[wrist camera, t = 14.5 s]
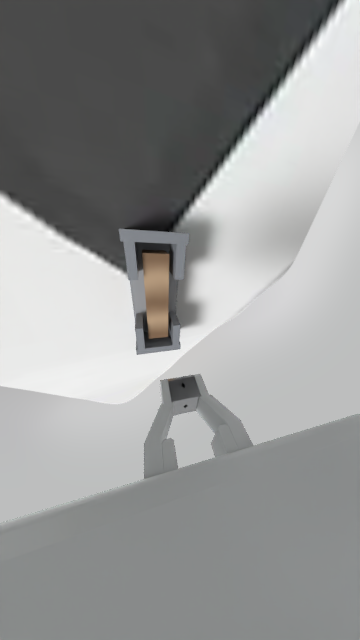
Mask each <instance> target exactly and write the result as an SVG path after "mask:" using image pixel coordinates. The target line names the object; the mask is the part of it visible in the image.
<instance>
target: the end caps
mask: <svg viewBox="0 0 360 640" xmlns="http://www.w3.org/2000/svg"><path fill="white" fill-rule="evenodd" d="M119 234H120V241H123V242H124V249H125V257H126V264H127V272H128V279H129V280H130V285H131V293H132V301H133V308H134V316H135V331H136V352H137V355H138V354H146V353H154V352H161V351H169V350H177V349H180V342H179V337H180V323H179V321H178V319H177V316H176V298H177V280H184V267H185V253H186V245H188V243H189V233H175V232H160V231H146V230H131V229H119ZM142 250H165V251H166V252H167V253H169V304H168V337H161V338H151V339H149V336H148V324H147V311H146V299H145V286H144V273H143V260H142Z"/></svg>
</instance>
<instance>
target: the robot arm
mask: <svg viewBox="0 0 360 640" xmlns="http://www.w3.org/2000/svg"><path fill="white" fill-rule="evenodd" d="M160 391H161V402H162V404H161V406H160V408H159V410H158V413H157V415H156V417H155V420H154V422H153V424H152V427H151V429H150V431H149V434H148V436H147V438H146V441H145V443H144V479H143V480H140V481H137V482H134V483H130V484H127V485H123V486H121V487H117V488H114V489H110V490H107V491H104V492H101V493H97V494H94V495H91V496H88V497H85V498H81V499H78V500H75V501H71V502H68V503H65V504H61V505H58V506H55V507H52V508H49V509H45V510H42V511H39V512H35V513H32V514H29V515H26V516H23V517H19V518H16V519H12V520H9V521H6V522H3V523H0V640H360V414H356V415H352V416H349V417H346V418H343V419H340V420H336V421H333V422H329V423H326V424H323V425H320V426H316V427H313V428H310V429H307V430H304V431H300V432H297V433H294V434H291V435H287V436H284V437H280V438H277V439H274V440H271V441H267V442H264V443H261V444H258V445H255V446H253V444H252V442H251V440H250V438H249V436H248V434H247V432H246V430H245V428H244V426H243V424H242V422H241V420H240V419H239V418H238V417H236V416H235V415H234V414H233V413H232V412H231V411H229V410H228V409H227V408H226V407H225V406H224V405H222V404H221V403H220V402H219V401H218V400H216V399H215V398H214V397H213V396H212V395H209V394H208V391H207V389H206V386H205V384H204V381H203V379H202V377H201V375H200V374H196V375H189V376H183V377H179V378H173V379H165V380H160ZM192 411H196V412H197V413H198V414H199V415H200V416H201V418H202V419H203V420H204V421H205V422H206V424H207V425H208V426H209V427H210V428H211V429H212V430H213V432H214V433H215V436H214V438H213V440H212V442H211V445H212V449H213V451H214V455H215V458H212V459H209V460H205V461H202V462H199V463H195V464H192V465H189V466H186V467H183V468H179V469H178V465H177V459H176V452H175V446H174V440H173V439H171V438H169V439H166V438H167V435H168V431H169V428H170V425H171V422H172V418H173V416H174V415H178V414H182V413H187V412H192Z"/></svg>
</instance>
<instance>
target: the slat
mask: <svg viewBox="0 0 360 640" xmlns="http://www.w3.org/2000/svg"><path fill="white" fill-rule="evenodd" d="M142 260H143V273H144V286H145V299H146V311H147V324H148V336H149V339H151V338H161V337H168V304H169V253H167V252H166V251H165V250H142Z"/></svg>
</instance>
